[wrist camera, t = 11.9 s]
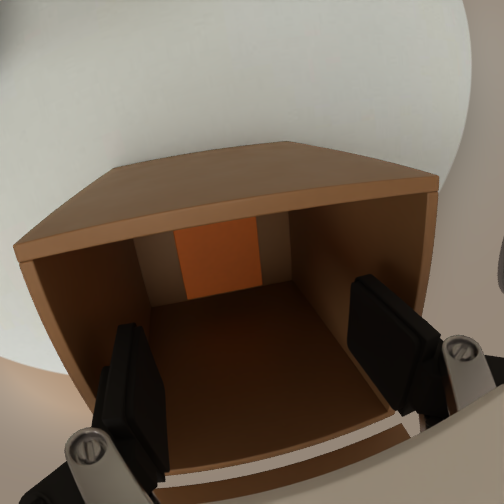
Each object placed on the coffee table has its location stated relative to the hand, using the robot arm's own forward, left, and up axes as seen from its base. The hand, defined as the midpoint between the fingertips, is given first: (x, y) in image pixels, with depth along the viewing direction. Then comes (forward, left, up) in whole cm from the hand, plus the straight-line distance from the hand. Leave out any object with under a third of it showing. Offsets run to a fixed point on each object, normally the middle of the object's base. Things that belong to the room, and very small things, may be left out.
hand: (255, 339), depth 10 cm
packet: (0, 0, -13) cm, 13 cm away
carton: (0, 0, -13) cm, 13 cm away
